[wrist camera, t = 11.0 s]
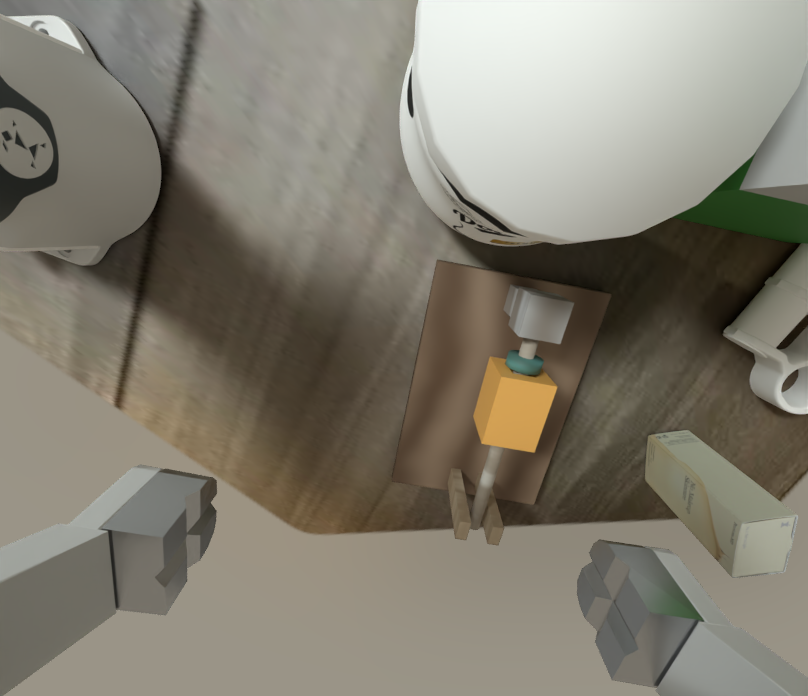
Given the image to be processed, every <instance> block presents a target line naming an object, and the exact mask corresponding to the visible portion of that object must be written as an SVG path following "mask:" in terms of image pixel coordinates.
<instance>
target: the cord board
mask: <svg viewBox="0 0 808 696" xmlns="http://www.w3.org/2000/svg"><path fill="white" fill-rule="evenodd" d="M611 296H612V294H610V293H607V292H604V291H600V290H594V289H589V288H584V287H579V286H573V285H568V284H563V283H558V282H552V281H547V280H542V279H537V278H532V277H526V276H521V275H516V274H511V273H505V272H500V271H495V270H490V269H484V268H479V267H474V266H469V265H463V264H458V263H453V262H448V261H442V260H437V262H436V267H435V272H434V277H433V281H432V286H431V291H430V296H429V301H428V305H427V310H426V315H425V320H424V324H423V329H422V334H421V339H420V344H419V348H418V353H417V358H416V363H415V368H414V372H413V377H412V382H411V387H410V391H409V396H408V401H407V406H406V411H405V415H404V420H403V425H402V430H401V435H400V439H399V444H398V449H397V454H396V459H395V463H394V468H393V473H392V482H398V483H404V484H410V485H416V486H422V487H428V488H434V489H440V490H447V491H449V497H450V504H451V512H452V519H453V526H454V534H455V538H456V539H461V540H466V539H467V535H468V532H469V529H470V528H471V529H473V530H478V529H479V527H480V524H481V521H482V522H483V526H484V530H485V535H486V539H487V543H488V544H493V545H499V542H500V539H501V536H502V533H503V530H504V526H503V523H502V519H501V516H500V513H499V509H498V506H497V503H496V499H501V500H507V501H514V502H520V503H526V504H532V505H534V503H535V500H536V497H537V495H538V492H539V489H540V486H541V484H542V481H543V478H544V476H545V473H546V470H547V468H548V465H549V462H550V460H551V457H552V454H553V452H554V449H555V446H556V443H557V441H558V438H559V435H560V433H561V430H562V427H563V425H564V422H565V419H566V417H567V414H568V411H569V409H570V406H571V403H572V400H573V398H574V395H575V392H576V390H577V387H578V384H579V382H580V379H581V376H582V374H583V371H584V368H585V366H586V363H587V360H588V357H589V355H590V352H591V349H592V347H593V344H594V341H595V339H596V336H597V333H598V331H599V328H600V325H601V323H602V320H603V317H604V314H605V312H606V309H607V306H608V304H609V301H610V298H611ZM490 356H491V357H496V358H502V359H506V362H505V364H506V366H507V367H509V368H510V369H512V370H514V371H513V373H514V374H520V375H525V376H528V375H539V374H540V372H541V369H543V370H544V372H545V373H546V374H547V375H548V376H549V377H550V378H551V380H552V381H553V382H554V383H555V384H556V385H557V390H556V393H555V396H554V399H553V401H552V404H551V407H550V410H549V413H548V416H547V418H546V421H545V424H544V427H543V430H542V433H541V435H540V438H539V441H538V444H537V447H536V450H535V452H534V453H533V452H527V451H521V450H515V449H510V448H504V447H498V446H492V445H486V444H482V443H481V440H480V437H479V434H478V430H477V427H476V424H475V421H474V417H473V415H474V412H475V408H476V404H477V401H478V397H479V394H480V390H481V386H482V383H483V379H484V376H485V372H486V368H487V365H488V361H489V358H490ZM466 494H471V495H475V499H474V502H473V505H472V509H471V512H470V514H469V509H468V504H467V499H466Z"/></svg>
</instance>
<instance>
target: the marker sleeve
mask: <svg viewBox="0 0 808 696" xmlns="http://www.w3.org/2000/svg"><path fill="white" fill-rule="evenodd" d="M505 362H506V359H502V358H496V357H491V356H490V358H489V361H488V365H487V368H486V372H485V376H484V379H483V383H482V386H481V390H480V394H479V397H478V401H477V404H476V408H475V412H474V415H473V417H474V421H475V424H476V427H477V430H478V434H479V437H480V440H481V443H482V444H486V445H492V446H498V447H504V448H510V449H515V450H521V451H527V452H533V453H534V452H535V450H536V447H537V444H538V441H539V438H540V435H541V433H542V430H543V427H544V424H545V421H546V418H547V416H548V413H549V410H550V407H551V404H552V401H553V399H554V396H555V393H556V390H557V385H556V384H555V383H554V382H553V381H552V380H551V378H550V377H549V376H548V375H547V374H546V373H545V372H544V370H543V369H541V372H540V374H539V375H528V376H525V375H520V374H514V373H513V371H514V370H512V369H510V368H509V367H507V366H506V364H505Z"/></svg>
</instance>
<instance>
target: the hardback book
mask: <svg viewBox="0 0 808 696" xmlns="http://www.w3.org/2000/svg"><path fill="white" fill-rule="evenodd" d="M672 218H677V219H681V220H686V221H690V222H695V223H700V224H704V225H709V226H714V227H718V228H723V229H727V230H732V231H737V232H741V233H746V234H750V235H755V236H760V237H764V238H769V239H774V240H778V241H783V242H790V243H805V244H808V61H807V64H806V67H805V70H804V73H803V75H802V78H801V81H800V84H799V87H798V88H797V90H796V91H795V93H794V94H793V96H792V97H791V99H790V100H789V102H788V103H787V105H786V106H785V108H784V109H783V111H782V112H781V114H780V116H779V117H778V119H777V120H776V122H775V123H774V125H773V126H772V128H771V129H770V131H769V132H768V134H767V135H766V137H765V138H764V140H763V141H762V143H761V144H760V146H759V147H758V149H757V150H756V152H755V153H754V155H753V156H752V157H751V158H749V159H748V160H747V161H746V162H745V163H744V164H743V165H742V166H741V167H739V168H738V169H737V170H736V171H735V172H734V173H733V174H732V175H730V176H729V177H728V178H727V179H726V180H725V181H724V182H723V183H722V184H720V185H719V186H718V187H717V188H716V189H715V190H714V191H713V192H711V193H710V194H709V195H708V196H707V197H706V198H705V199H704V200H703V201H701V202H700V203H699V204H698V205H696V206H694V207H692V208H690V209H688V210H686V211H684V212H681V213H679V214H677V215H675V216H673V217H672Z"/></svg>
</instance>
